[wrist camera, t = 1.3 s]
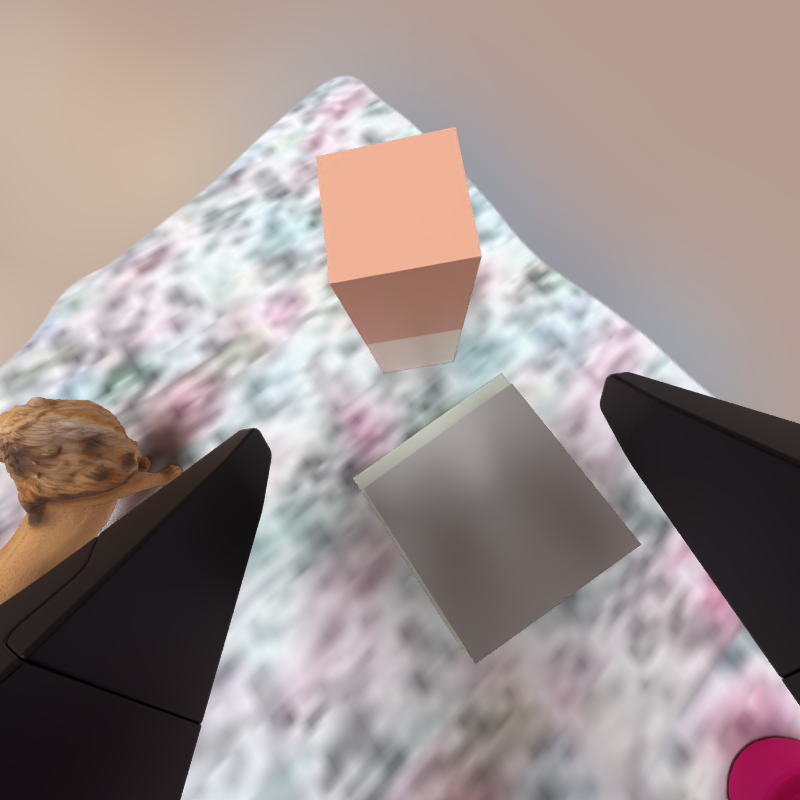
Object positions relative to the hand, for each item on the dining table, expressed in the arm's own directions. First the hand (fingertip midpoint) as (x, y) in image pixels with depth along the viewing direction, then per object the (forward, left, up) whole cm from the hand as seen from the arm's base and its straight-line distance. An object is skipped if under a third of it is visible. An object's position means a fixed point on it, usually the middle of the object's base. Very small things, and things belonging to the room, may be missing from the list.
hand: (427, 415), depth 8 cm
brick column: (+7, -3, -13) cm, 15 cm away
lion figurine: (+8, +20, -13) cm, 26 cm away
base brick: (-5, 0, -13) cm, 14 cm away
